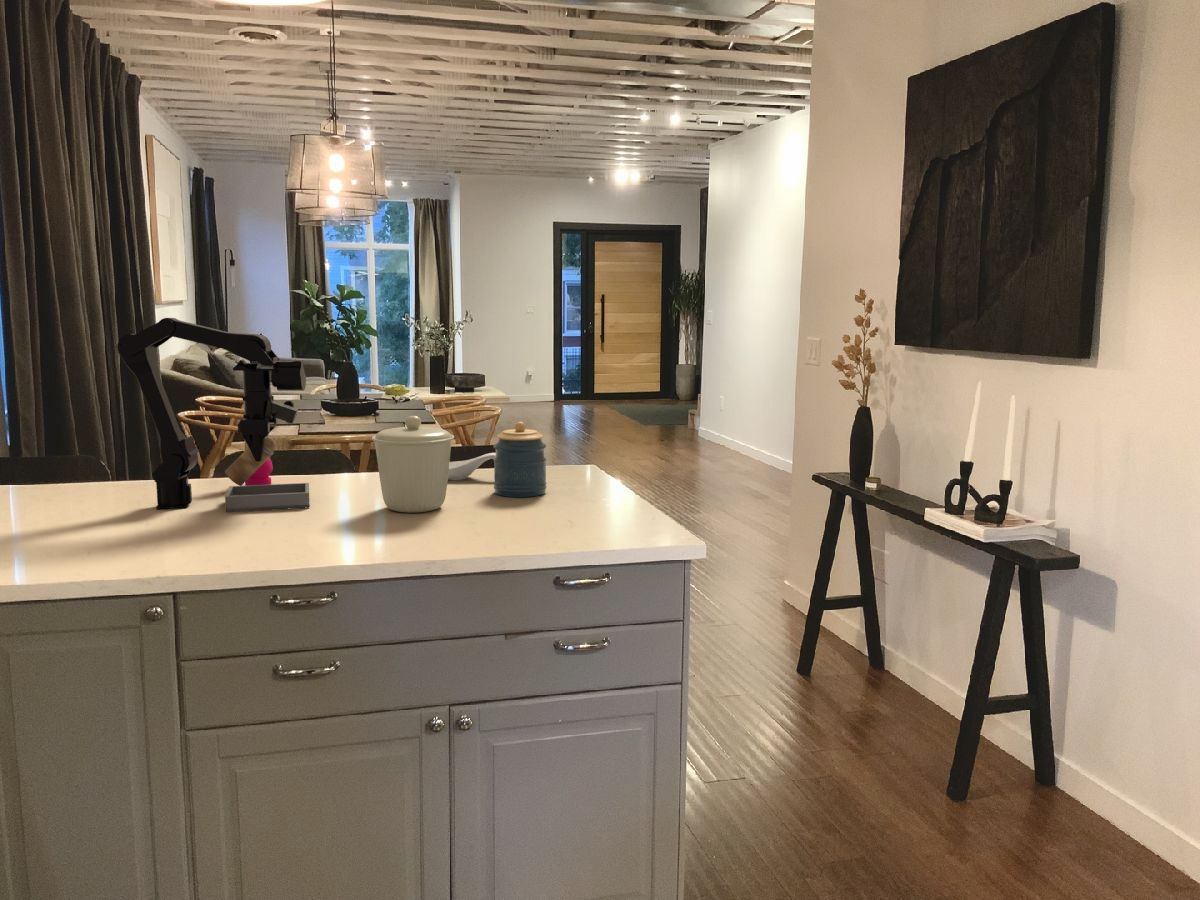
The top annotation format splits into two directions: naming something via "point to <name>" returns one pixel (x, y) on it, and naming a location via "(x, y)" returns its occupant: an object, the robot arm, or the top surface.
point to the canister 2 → (520, 463)
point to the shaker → (249, 462)
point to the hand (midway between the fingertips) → (260, 459)
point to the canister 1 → (413, 466)
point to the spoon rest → (466, 467)
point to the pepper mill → (261, 474)
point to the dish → (267, 497)
